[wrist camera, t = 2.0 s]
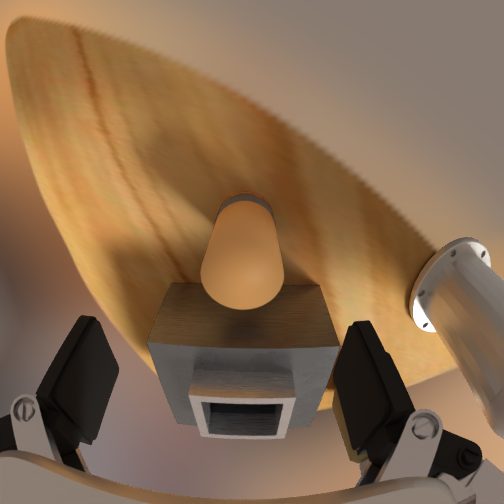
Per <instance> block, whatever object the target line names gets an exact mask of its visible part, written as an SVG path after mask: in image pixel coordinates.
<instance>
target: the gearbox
mask: <svg viewBox="0 0 504 504" xmlns="http://www.w3.org/2000/svg"><path fill="white" fill-rule="evenodd" d="M147 345H148V348H149V351H150V354H151V357H152V360H153V363H154V366H155V369H156V371H157V374H158V377H159V380H160V382H161V385H162V387H163V390H164V393H165V395H166V398H167V400H168V403H169V405H170V408H171V410H172V412H173V415H174V417H175V419H176V422H177V423H178V424H185V425H186V424H187V425H194V426H198V428H199V431H200V434H201V436H202V437H213V438H231V439H280V438H281V439H282V438H285V434H286V431H287V428H295V427H309V426H310V425H311V423H312V420H313V418H314V416H315V413H316V411H317V409H318V406H319V404H320V401H321V399H322V396H323V394H324V391H325V388H326V386H327V383H328V380H329V378H330V375H331V372H332V369H333V366H334V364H335V361H336V358H337V355H338V352H339V349H340V344H339V341H338V338H337V335H336V332H335V329H334V326H333V323H332V320H331V317H330V314H329V311H328V308H327V305H326V302H325V299H324V297H323V294H322V291H321V288H320V285H282V287H281V289H280V291H279V292H278V294H277V295H276V296H275V297H274V298H273V299H272V300H271V301H269V302H268V303H266V304H264V305H262V306H260V307H257V308H253V309H244V310H242V309H233V308H229V307H226V306H224V305H222V304H220V303H218V302H217V301H215V300H214V299H213V298H212V297H211V296H210V295H209V294H208V293H207V292H206V290H205V288H204V286H203V284H192V283H171V285H170V287H169V289H168V292H167V294H166V296H165V299H164V301H163V303H162V306H161V308H160V310H159V313H158V315H157V318H156V320H155V322H154V325H153V327H152V330H151V332H150V335H149V337H148V340H147Z"/></svg>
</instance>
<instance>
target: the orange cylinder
mask: <svg viewBox="0 0 504 504" xmlns="http://www.w3.org/2000/svg"><path fill="white" fill-rule="evenodd" d="M283 280H284V269H283V263H282V258H281V253H280V248H279V243H278V238H277V233H276V225H275V220H274V215H273V212H272V209H271V207H270V205H269V204H268V202H267V201H266V200H265V199H264V198H263V197H261V196H260V195H258V194H255V193H251V192H240V193H236V194H234V195H232V196H230V197H229V198H228V199H226V200H225V202H224V203H223V204H222V206H221V207H220V209H219V212H218V215H217V218H216V221H215V226H214V229H213V232H212V235H211V238H210V241H209V244H208V247H207V250H206V253H205V256H204V259H203V263H202V266H201V281H202V284H203V286H204V288H205V290H206V292H207V293H208V294H209V295H210V296H211V297H212V298H213V299H214V300H215V301H217V302H218V303H220V304H222V305H224V306H226V307H229V308H233V309H242V310H244V309H253V308H257V307H260V306H262V305H264V304H266V303H268V302H269V301H271V300H272V299H273V298H274V297H275V296H276V295H277V294H278V292H279V291H280V289H281V287H282V284H283Z"/></svg>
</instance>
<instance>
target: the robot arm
mask: <svg viewBox="0 0 504 504" xmlns="http://www.w3.org/2000/svg"><path fill="white" fill-rule="evenodd" d="M490 266H491V261H490V256H489V253H488V250H487V249H486V247H485V246H484V245H483V244H482V243H480V242H479V241H478V240H475V239H473V238H467V237H465V238H460V239H457V240H454V241H452V242H450V243H449V244H447V245H445V246H444V247H442V248H441V249H440V250H439V251H438V252H437V253H436V254H434V256H433V257H432V258H431V259H430V260H429V261H428V262H427V264H426V265H425V266H424V268H423V269H422V271H421V272H420V274H419V276H418V278H417V280H416V281H415V284H414V286H413V289H412V292H411V296H410V301H409V310H410V315H411V317H412V319H413V321H414V322H415V324H416V325H417V327H418V328H420V329H421V330H424V331H427V332H437V334H438V335H439V337H440V338H441V340H442V341H443V343H444V344H445V346H446V348H447V349H448V351H449V352H450V354H451V356H452V357H453V359H454V361H455V362H456V364H457V366H458V367H459V369H460V371H461V372H462V374H463V376H464V378H465V379H466V381H467V383H468V385H469V387H470V388H471V390H472V392H473V394H474V396H475V398H476V400H477V402H478V403H479V405H480V407H481V409H482V411H483V413H484V415H485V417H486V419H487V421H488V423H489V425H490V427H491V428H492V430H493V431H494V432H495V433H496V434H497V435H498V436H500V437H502V438H503V439H504V280H503V279H502V278H501V277H500V276H498V275H497V274H496V273H495V272H494V271H493V270H492V269H491V268H490ZM118 373H119V367H118V364H117V361H116V359H115V357H114V355H113V353H112V350H111V348H110V346H109V343H108V341H107V339H106V336H105V334H104V331H103V329H102V327H101V324H100V322H99V321H97V319H96V318H95V317H93V316H84V315H81V316H80V317H79V318H78V320H77V321H76V323H75V325H74V326H73V328H72V329H71V331H70V333H69V334H68V336H67V337H66V339H65V341H64V342H63V344H62V346H61V348H60V349H59V351H58V353H57V354H56V356H55V358H54V360H53V362H52V363H51V365H50V367H49V369H48V371H47V372H46V374H45V376H44V378H43V380H42V382H41V384H40V386H39V388H38V390H37V392H36V394H37V396H36V398H35V397H33V396H32V395H29V394H24V395H21V396H19V397H17V398H16V399H15V400H14V402H13V403H12V406H11V414H9V415H7V416H5V417H2V418H0V504H504V470H502V471H500V470H499V469H498V468H497V467H496V466H494V465H493V464H492V463H491V462H490V461H489V460H487V459H484V460H483V459H482V452H481V449H480V447H479V446H478V445H477V444H476V443H474V442H472V441H470V440H467V439H465V438H462V437H460V436H458V435H455V434H452V433H451V432H448V431H446V430H444V429H443V425H442V421H441V419H440V417H439V416H438V415H437V414H436V413H435V412H433V411H431V410H428V409H419V410H417V411H416V410H415V408H414V406H413V404H412V401H411V399H410V396H409V394H408V392H407V390H406V388H405V385H404V383H403V381H402V379H401V377H400V374H399V372H398V370H397V368H396V366H395V364H394V362H393V360H392V358H391V356H390V354H389V353H387V352H385V350H384V348H383V346H382V343H381V341H380V339H379V337H378V335H377V333H376V331H375V329H374V328H373V326H372V324H371V322H370V321H369V320H367V321H355V322H354V323H353V325H352V326H349V327H348V330H347V333H346V336H345V339H344V342H343V345H342V348H341V351H340V354H339V357H338V360H337V363H336V365H335V368H334V371H333V378H334V382H335V386H336V389H337V393H338V397H339V400H340V404H341V408H342V412H343V415H344V419H345V423H346V427H347V431H348V435H349V439H350V443H351V447H352V449H353V450H356V451H357V455H358V456H359V455H364V454H367V455H368V459H369V461H370V462H369V464H368V466H367V467H366V469H365V471H364V473H363V474H362V476H361V478H360V479H359V481H358V483H357V484H356V486H355V487H354V488H350V489H345V490H340V491H334V492H329V493H322V494H315V495H309V496H300V497H290V498H280V499H279V498H278V499H257V500H232V499H212V498H200V497H190V496H182V495H175V494H168V493H162V492H156V491H152V490H147V489H142V488H137V487H133V486H129V485H125V484H121V483H117V482H114V481H110V480H107V479H104V478H101V477H98V476H95V475H91V473H90V471H89V469H88V467H87V465H86V463H85V461H84V458H83V456H82V454H81V452H80V449H79V447H78V446H79V443H80V442H83V443H86V444H89V445H92V441H93V440H95V439H96V438H97V435H98V432H99V429H100V426H101V422H102V419H103V416H104V413H105V410H106V407H107V404H108V401H109V398H110V396H111V393H112V390H113V387H114V384H115V382H116V379H117V376H118Z"/></svg>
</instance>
